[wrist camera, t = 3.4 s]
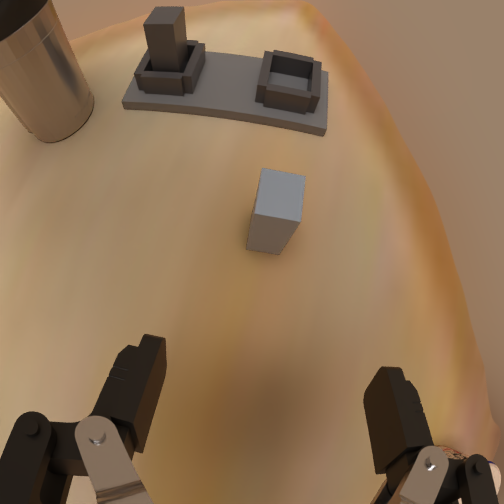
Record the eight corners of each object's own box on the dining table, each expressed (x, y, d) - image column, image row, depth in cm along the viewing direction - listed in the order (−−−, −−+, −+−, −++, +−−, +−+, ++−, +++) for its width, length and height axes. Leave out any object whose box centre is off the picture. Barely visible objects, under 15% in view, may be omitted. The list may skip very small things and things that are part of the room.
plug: (246, 249, 31) (254, 213, 22) (251, 214, 32) (262, 167, 23) (278, 254, 31) (300, 221, 22) (283, 220, 32) (305, 176, 23)
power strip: (124, 108, 34) (100, 44, 23) (150, 56, 37) (138, -6, 26) (323, 136, 35) (353, 72, 24) (325, 79, 38) (349, 18, 27)
